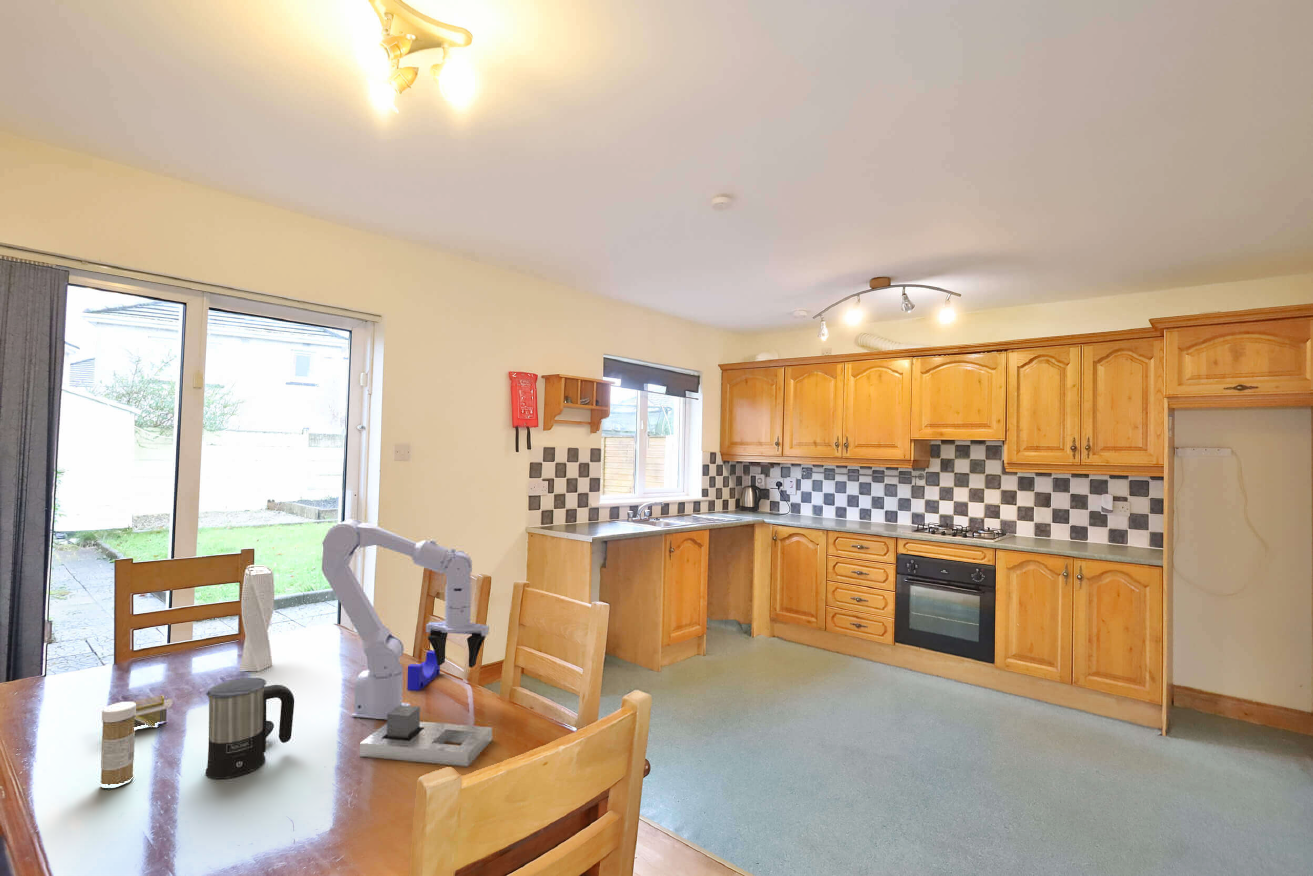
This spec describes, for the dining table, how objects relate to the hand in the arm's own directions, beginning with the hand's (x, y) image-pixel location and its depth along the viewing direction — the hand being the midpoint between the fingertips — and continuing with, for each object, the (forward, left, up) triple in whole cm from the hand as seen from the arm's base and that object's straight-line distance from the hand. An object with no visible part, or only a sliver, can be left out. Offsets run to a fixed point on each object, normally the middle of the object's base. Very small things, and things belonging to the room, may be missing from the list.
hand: (456, 665), depth 145 cm
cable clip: (-16, +13, -10) cm, 23 cm away
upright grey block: (-1, -20, -10) cm, 22 cm away
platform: (-57, -24, -10) cm, 63 cm away
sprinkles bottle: (-42, -42, -10) cm, 60 cm away
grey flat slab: (+4, -20, -9) cm, 22 cm away
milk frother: (-29, -30, -10) cm, 42 cm away
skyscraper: (-63, +13, -10) cm, 65 cm away
